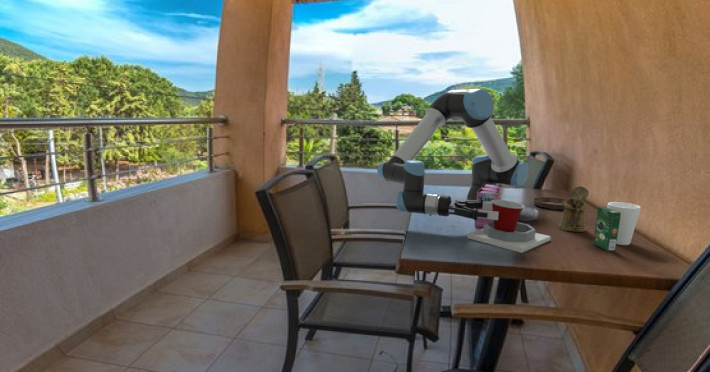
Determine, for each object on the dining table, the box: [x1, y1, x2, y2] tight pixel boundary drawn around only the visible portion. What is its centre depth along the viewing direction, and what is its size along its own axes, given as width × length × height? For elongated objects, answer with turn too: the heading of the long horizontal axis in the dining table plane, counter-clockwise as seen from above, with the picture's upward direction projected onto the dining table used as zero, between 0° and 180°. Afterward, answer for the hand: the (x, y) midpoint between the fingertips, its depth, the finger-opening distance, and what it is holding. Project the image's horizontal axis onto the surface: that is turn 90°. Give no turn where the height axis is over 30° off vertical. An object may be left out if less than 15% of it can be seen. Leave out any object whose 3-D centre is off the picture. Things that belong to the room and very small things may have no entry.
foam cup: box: [606, 201, 642, 246], centre depth 141 cm, size 10×9×13 cm
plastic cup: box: [491, 199, 525, 232], centre depth 140 cm, size 11×11×12 cm
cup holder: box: [466, 221, 551, 253], centre depth 143 cm, size 20×20×4 cm
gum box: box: [474, 183, 503, 228], centre depth 167 cm, size 24×8×14 cm, turn 156°
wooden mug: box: [558, 186, 590, 233], centre depth 153 cm, size 9×14×18 cm, turn 160°
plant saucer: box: [532, 196, 567, 210], centre depth 195 cm, size 18×18×3 cm
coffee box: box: [593, 206, 621, 253], centre depth 134 cm, size 8×3×13 cm, turn 2°
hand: (500, 211), depth 143 cm, fingers open, 13 cm apart
